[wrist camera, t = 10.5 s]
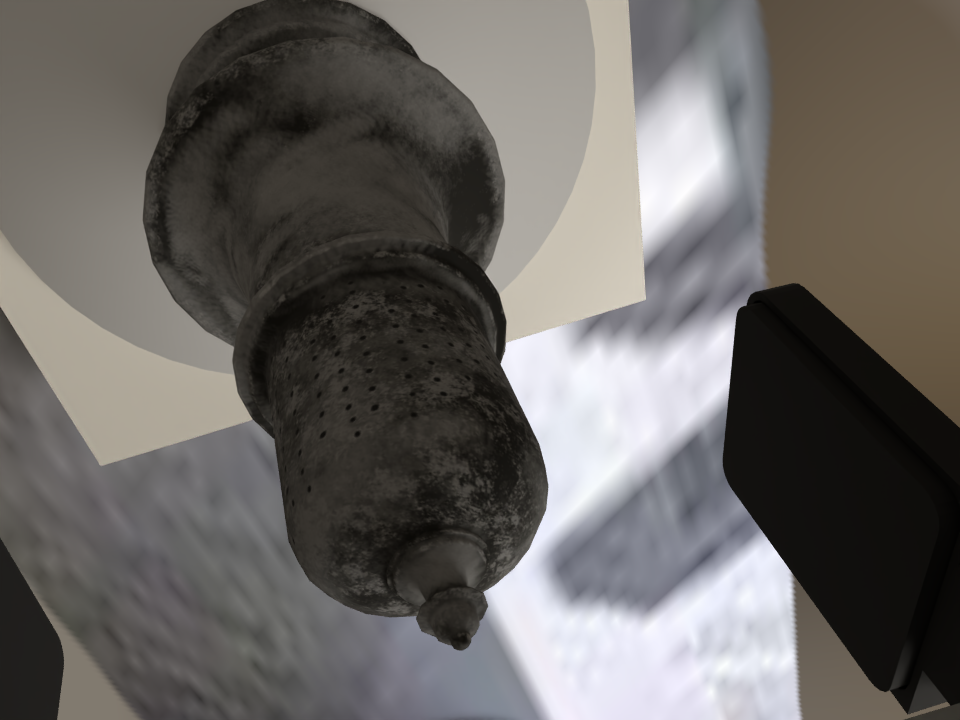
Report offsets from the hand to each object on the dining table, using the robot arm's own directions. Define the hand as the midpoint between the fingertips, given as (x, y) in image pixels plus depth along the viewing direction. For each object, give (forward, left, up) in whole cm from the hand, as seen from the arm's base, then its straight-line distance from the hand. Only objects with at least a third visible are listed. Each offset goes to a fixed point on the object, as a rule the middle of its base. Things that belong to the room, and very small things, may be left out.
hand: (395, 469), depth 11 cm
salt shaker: (+1, 0, -9) cm, 9 cm away
